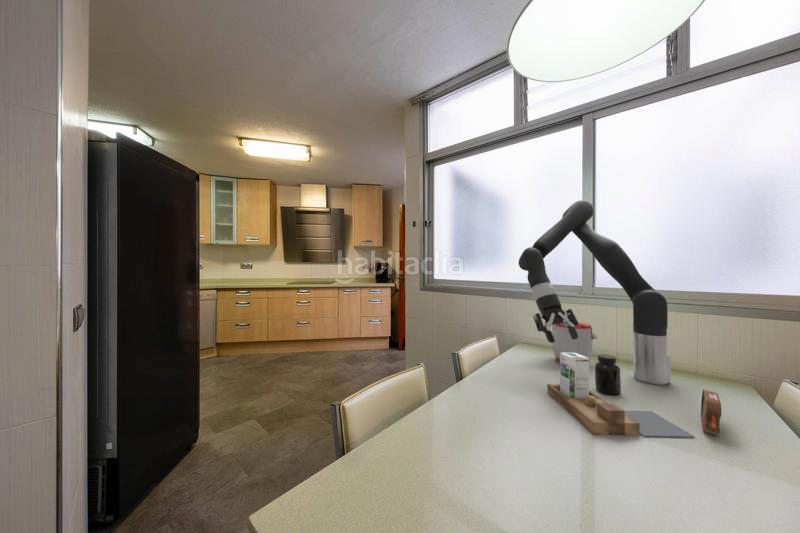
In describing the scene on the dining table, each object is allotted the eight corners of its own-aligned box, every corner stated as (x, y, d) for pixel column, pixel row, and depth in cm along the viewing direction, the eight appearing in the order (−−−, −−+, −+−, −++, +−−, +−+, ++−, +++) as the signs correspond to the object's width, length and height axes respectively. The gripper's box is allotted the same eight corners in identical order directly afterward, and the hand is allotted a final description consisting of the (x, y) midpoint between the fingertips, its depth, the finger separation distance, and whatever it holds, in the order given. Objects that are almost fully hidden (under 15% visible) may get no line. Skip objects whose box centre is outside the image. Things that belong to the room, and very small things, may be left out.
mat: (651, 412, 79) (651, 411, 79) (694, 437, 67) (694, 436, 67) (608, 411, 79) (608, 410, 79) (643, 436, 67) (643, 435, 67)
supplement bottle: (611, 388, 95) (611, 353, 95) (626, 397, 88) (625, 359, 88) (590, 387, 95) (590, 352, 96) (603, 396, 89) (602, 359, 89)
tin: (700, 414, 78) (699, 384, 78) (717, 418, 75) (716, 387, 76) (703, 437, 67) (702, 402, 67) (723, 442, 65) (722, 406, 65)
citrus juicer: (600, 372, 109) (599, 322, 110) (550, 365, 118) (550, 318, 119) (597, 361, 123) (596, 316, 123) (552, 355, 132) (552, 313, 132)
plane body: (581, 393, 91) (581, 375, 91) (639, 435, 68) (639, 411, 68) (547, 393, 91) (547, 375, 91) (593, 434, 68) (593, 410, 68)
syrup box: (559, 397, 88) (558, 352, 88) (576, 396, 88) (576, 351, 89) (571, 406, 82) (571, 357, 82) (590, 405, 83) (589, 357, 83)
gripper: (557, 298, 106) (576, 340, 99) (523, 303, 105) (539, 345, 97) (569, 291, 100) (589, 335, 92) (532, 295, 98) (550, 340, 91)
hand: (564, 340), depth 95 cm, fingers open, 8 cm apart
